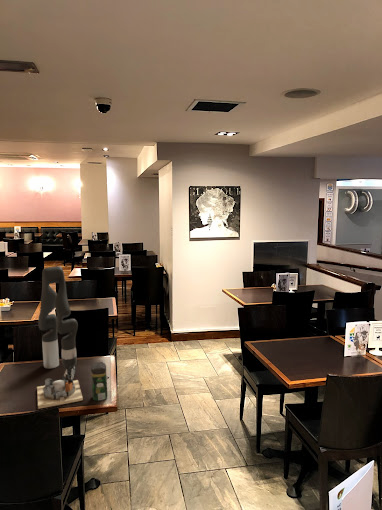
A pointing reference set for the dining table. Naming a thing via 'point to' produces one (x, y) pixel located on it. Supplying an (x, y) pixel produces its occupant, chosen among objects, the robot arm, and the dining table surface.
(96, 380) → the coffee jar
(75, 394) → the base plate
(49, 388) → the ring nut
